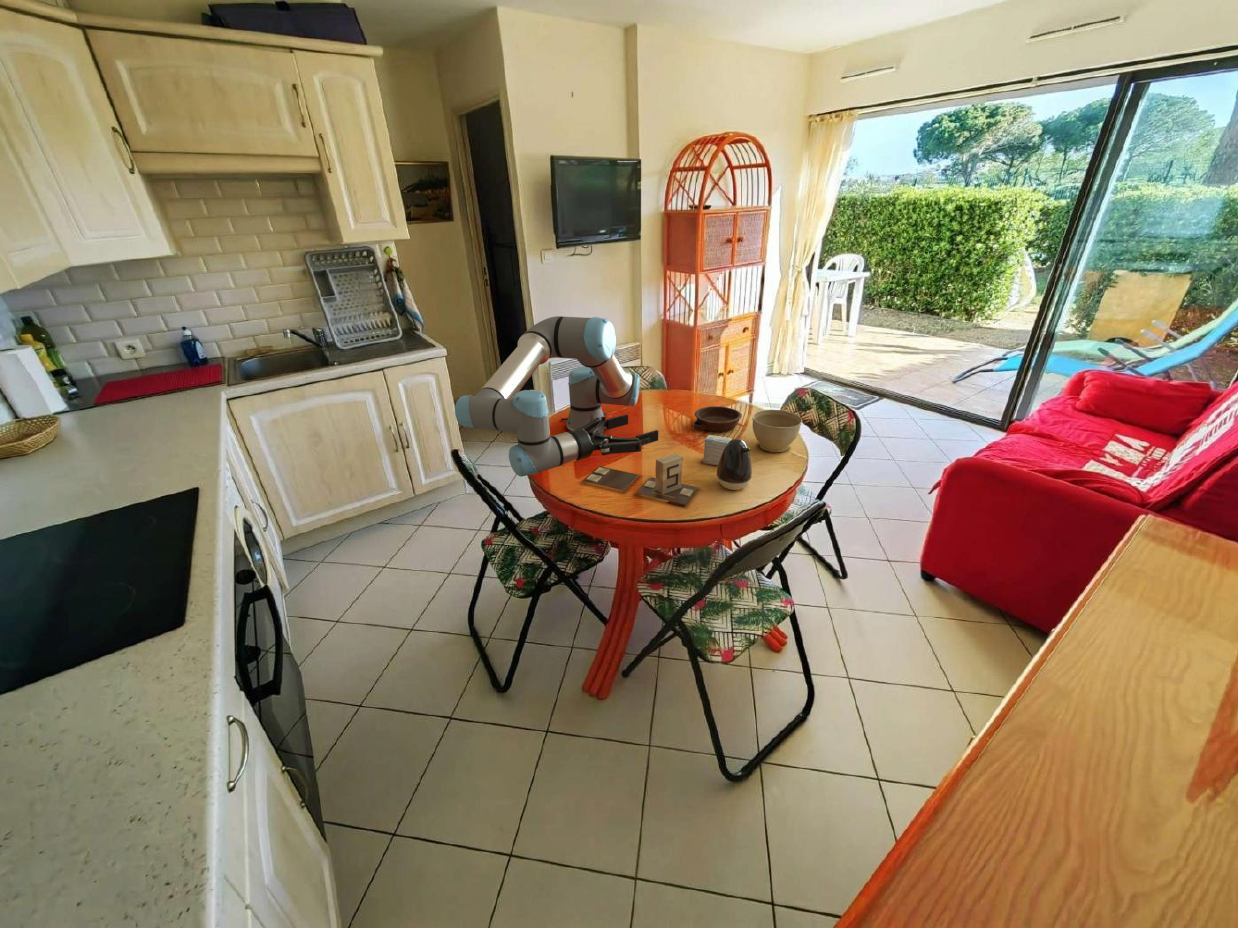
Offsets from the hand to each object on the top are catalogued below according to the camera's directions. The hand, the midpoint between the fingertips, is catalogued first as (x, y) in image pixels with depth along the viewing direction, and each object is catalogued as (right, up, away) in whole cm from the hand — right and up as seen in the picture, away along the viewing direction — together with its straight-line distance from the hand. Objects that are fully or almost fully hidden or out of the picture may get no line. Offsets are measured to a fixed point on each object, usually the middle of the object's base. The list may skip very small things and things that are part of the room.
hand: (642, 426), depth 136 cm
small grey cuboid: (+8, -17, +15) cm, 24 cm away
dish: (+32, +5, +60) cm, 68 cm away
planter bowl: (+47, -4, +41) cm, 63 cm away
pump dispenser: (+28, -17, +17) cm, 37 cm away
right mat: (+8, -18, +14) cm, 24 cm away
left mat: (-9, -15, +22) cm, 28 cm away
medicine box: (+26, -10, +31) cm, 42 cm away
